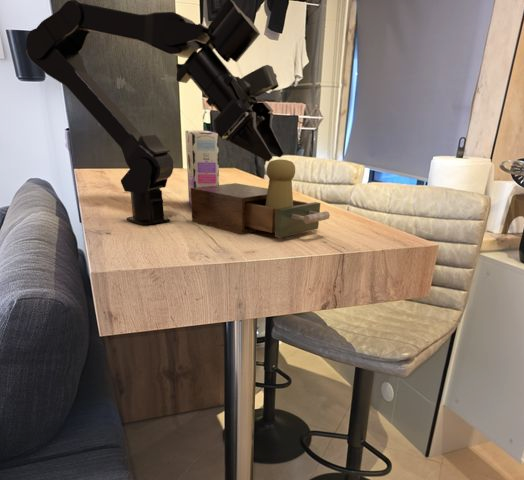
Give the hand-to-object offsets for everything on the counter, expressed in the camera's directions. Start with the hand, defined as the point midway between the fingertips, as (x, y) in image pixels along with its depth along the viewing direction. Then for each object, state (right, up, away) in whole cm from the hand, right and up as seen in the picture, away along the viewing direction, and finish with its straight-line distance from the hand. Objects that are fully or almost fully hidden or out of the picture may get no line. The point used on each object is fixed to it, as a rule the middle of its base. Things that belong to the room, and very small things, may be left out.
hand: (276, 157), depth 81 cm
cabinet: (-8, -8, +13) cm, 17 cm away
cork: (0, -10, +5) cm, 12 cm away
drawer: (+1, -11, +5) cm, 13 cm away
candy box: (-17, -1, +27) cm, 32 cm away
